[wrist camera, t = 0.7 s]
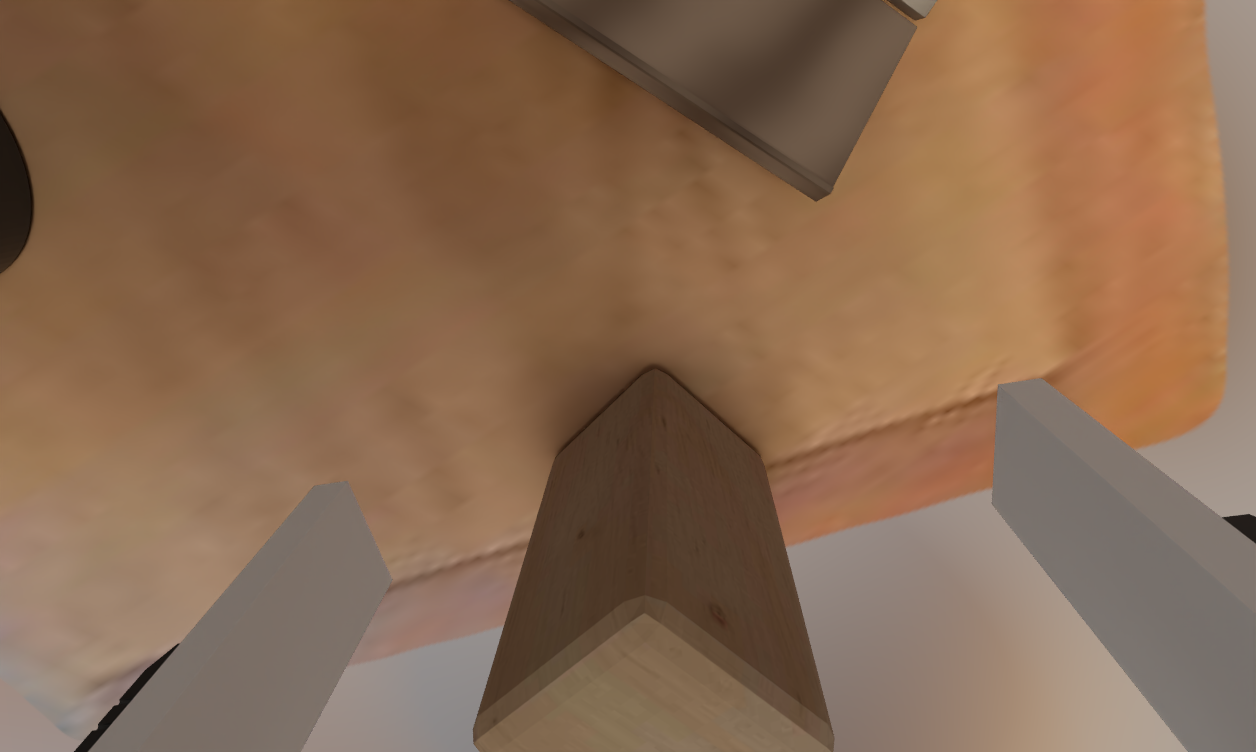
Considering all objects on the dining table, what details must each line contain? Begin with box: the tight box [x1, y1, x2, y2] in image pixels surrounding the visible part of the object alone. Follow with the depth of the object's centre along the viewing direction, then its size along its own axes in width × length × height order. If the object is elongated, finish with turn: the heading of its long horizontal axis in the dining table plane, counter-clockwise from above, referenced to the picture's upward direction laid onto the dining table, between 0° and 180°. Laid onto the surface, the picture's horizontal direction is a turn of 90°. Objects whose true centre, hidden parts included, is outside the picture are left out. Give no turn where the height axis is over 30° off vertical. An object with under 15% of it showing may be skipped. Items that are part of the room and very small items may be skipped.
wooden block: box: [473, 369, 834, 752], centre depth 31 cm, size 10×10×20 cm
